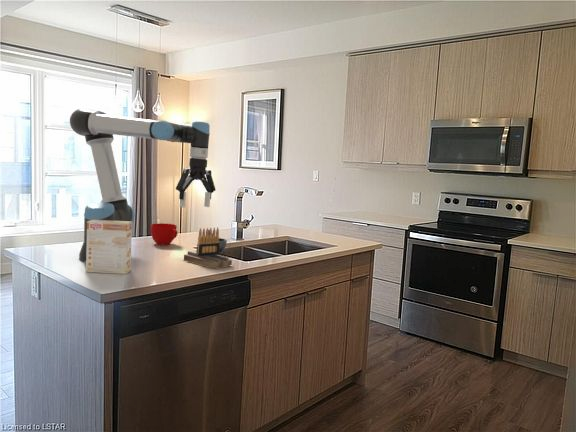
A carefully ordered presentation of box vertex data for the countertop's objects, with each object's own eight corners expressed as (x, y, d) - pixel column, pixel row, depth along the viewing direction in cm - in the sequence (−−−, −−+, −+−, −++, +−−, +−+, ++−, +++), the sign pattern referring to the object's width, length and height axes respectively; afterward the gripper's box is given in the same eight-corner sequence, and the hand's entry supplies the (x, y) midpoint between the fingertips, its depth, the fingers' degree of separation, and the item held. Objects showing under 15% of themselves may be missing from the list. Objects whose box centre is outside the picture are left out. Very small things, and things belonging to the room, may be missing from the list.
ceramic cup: (165, 248, 230) (166, 228, 229) (144, 243, 240) (145, 224, 239) (186, 246, 241) (186, 227, 239) (165, 241, 251) (166, 222, 250)
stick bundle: (214, 268, 194) (214, 260, 194) (183, 260, 206) (184, 252, 206) (231, 265, 202) (232, 257, 201) (201, 257, 214) (201, 249, 214)
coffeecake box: (131, 270, 182) (132, 221, 180) (125, 274, 175) (127, 223, 173) (92, 268, 182) (93, 218, 179) (85, 272, 174) (86, 220, 172)
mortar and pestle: (217, 250, 233) (218, 227, 232) (229, 254, 227) (231, 230, 226) (199, 253, 225) (200, 228, 224) (211, 256, 219) (213, 231, 217)
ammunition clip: (198, 256, 199) (199, 228, 198) (196, 255, 201) (197, 227, 199) (219, 254, 207) (220, 227, 205) (216, 253, 208) (218, 226, 207)
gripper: (180, 156, 188) (177, 208, 190) (225, 160, 207) (221, 207, 210) (169, 155, 193) (165, 206, 195) (214, 159, 212) (210, 205, 214)
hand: (194, 207), depth 202 cm, fingers open, 13 cm apart
